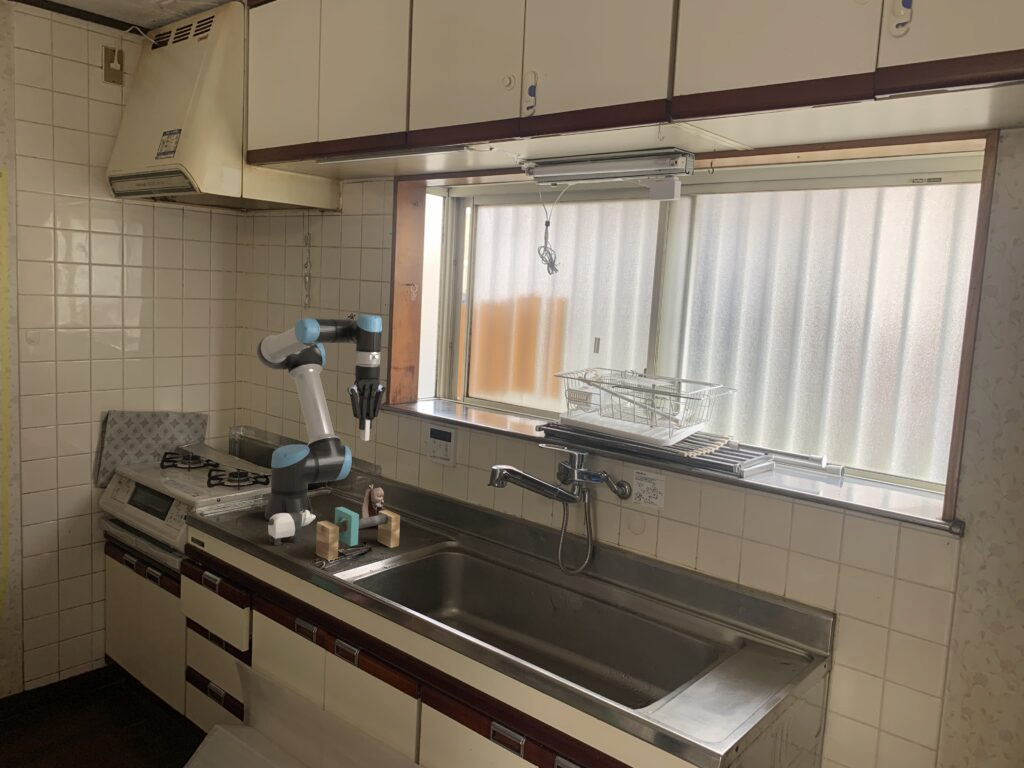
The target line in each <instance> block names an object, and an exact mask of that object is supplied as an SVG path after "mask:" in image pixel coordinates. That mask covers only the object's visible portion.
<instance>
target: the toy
mask: <svg viewBox="0 0 1024 768" xmlns="http://www.w3.org/2000/svg"><path fill="white" fill-rule="evenodd" d="M369 487H370V488H367V489H365V493H364V498H363V504H362V508H361V509H362V510H361V518H367V517H372V516H378V515H379V511H383V510H388V509H387V508H386V507H385V506H384V503H386V500H384V496H385V492H384V490H383V488H382V487H376V488H374V483H372V484H371V485H370V484H369ZM372 500H374V506H373V502H372ZM365 528H366V529H367V528H368V527H365Z"/></svg>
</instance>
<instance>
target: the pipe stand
mask: <svg viewBox="0 0 1024 768" xmlns="http://www.w3.org/2000/svg"><path fill="white" fill-rule="evenodd" d="M400 523H401V514H398V513H396V512H394V511H392V510H391V511H390V510H389V509H387V510H383V511H379V515H378V516H372V517H367V518H362V517H361V518H359V528H358V530H359V529H365V528H370V527H375V526H377V542H378V543H380V544H382V545H385V546H386V547H388V548H396V547H399V546H400V533H401V532H400V529H401V528H400V527H401V526H400V525H401V524H400ZM347 527H348V521H347V520H344V521H342V522H340V523H335V522H334V523H333V522H330V521H328V520H321V521H317V522H316V535H315V536H316V539H315V541H316V542H315V555H316V554H317V555H316V556H318V555H319V556H318V557H320V558H322V557H323V558H326V559H327V560H328V561H327V560H326V561H327V562H331V561H330V560H333V561H336V560H335V559H337V560H339V552H338V551H342V550H344V549H345V548H341V549H339V541H340V540H339V532H344V533H346V532H347ZM323 558H322V559H323Z"/></svg>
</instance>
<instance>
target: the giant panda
mask: <svg viewBox="0 0 1024 768" xmlns="http://www.w3.org/2000/svg"><path fill="white" fill-rule="evenodd" d="M316 517H317V516H316V514H313V513H312V514H311V513H310V512H309V511H308V510H306V509H304V510H303V508H301V512H300V513H279V514H275V515H273V516H272V517H271V518H270V520H268V527H267V531H268V538H269V543H271V542H273V545H274V546H275V545H278V546H282V545H281V544H283V542H282V541H281V539H282V538H288V540H292V542H293V543H295V542H296V543H302V541H303V540H302V539H301V532H302V527H304V526H308V525H309V524H310V523H312V522H313V521H314V520H315V519H316Z"/></svg>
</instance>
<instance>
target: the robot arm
mask: <svg viewBox="0 0 1024 768" xmlns="http://www.w3.org/2000/svg"><path fill="white" fill-rule="evenodd" d="M382 321H383V320H382V317H381V316H380V315H372V314H370V315H369V314H359V315H357V319H354V318H342V319H341V318H313V317H307V318H299V319H298V320H297V321H296V323H295V326H294V327H293V328H290V329H289V330H286V331H284V332H281V333H280V334H277V335H276V334H271V335H267V336H266V337H264V338H262V339H261V340H260V341H259V342H258V344H257V346H256V356H257V358H258V360H259V362H260V363H261V364H262V365H263V366H265V367H267V368H269V369H272V370H286V371H287V370H288V372H287V373H288V376H289V378H291V379H293V380H294V383H295V385H296V390H297V394H298V398H299V402H300V408H301V412H302V415H303V416H302V417H303V419H304V420H303V421H304V424H305V427H306V428H305V429H306V431H307V436H308V440H309V442H308V443H307V444H300V443H299V444H287V445H283V446H280V447H278V448H275V450H274V451H273V452H272V455H271V456H272V457H271V462H270V466H271V472H270V473H271V475H270V476H271V477H270V496H269V498H268V500H267V504H266V506H265V509H264V519H265V520H267V521H269V520H270V518H271V517H272V516H273V515H275V514H279V513H300V512H301V508H303V510H304V509H306V510H308V511H309V512H310V513H311V514H313V507H312V504H311V500H310V498H309V493H308V489H309V484H317V483H327V482H335V481H341V480H344V479H346V478H347V477H348V475H349V474H350V471H351V468H352V464H353V463H352V461H353V460H352V459H353V457H352V451H351V449H350V448H349V446H348V445H345V444H342V440H341V437H339V436H337V435H335V432H334V428H333V423H332V419H331V416H330V412H329V408H328V404H327V399H326V395H325V392H324V388H323V384H322V379H321V376H320V374H321V373H322V371H323V367H324V366H325V365H326V364H325V363H326V360H327V359H326V351H325V347H324V344H354V345H355V344H356V345H355V346H356V348H355V364H356V365H355V368H354V370H355V371H354V376H355V381H354V383H353V385H352V386H351V387H347V392H348V394H349V398H350V403H351V409H352V415H353V417H354V418H357V419H358V420H359V421H358V429H359V430H360V440H362V441H364V442H367V441H370V431H371V430H372V427H373V426H372V424H373V420H375V418H377V417H379V412H380V408H381V404H382V400H383V397H384V396H383V395H384V394H385V392H386V390H387V388H386V387H385V386H383V385H381V383H380V379H379V378H380V377H381V376H380V374H381V367H380V366H379V365H380V364H381V351H382V350H381V349H382V348H381V347H382V336H383V335H382V334H383V332H382V331H383V327H382V323H383V322H382Z"/></svg>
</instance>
